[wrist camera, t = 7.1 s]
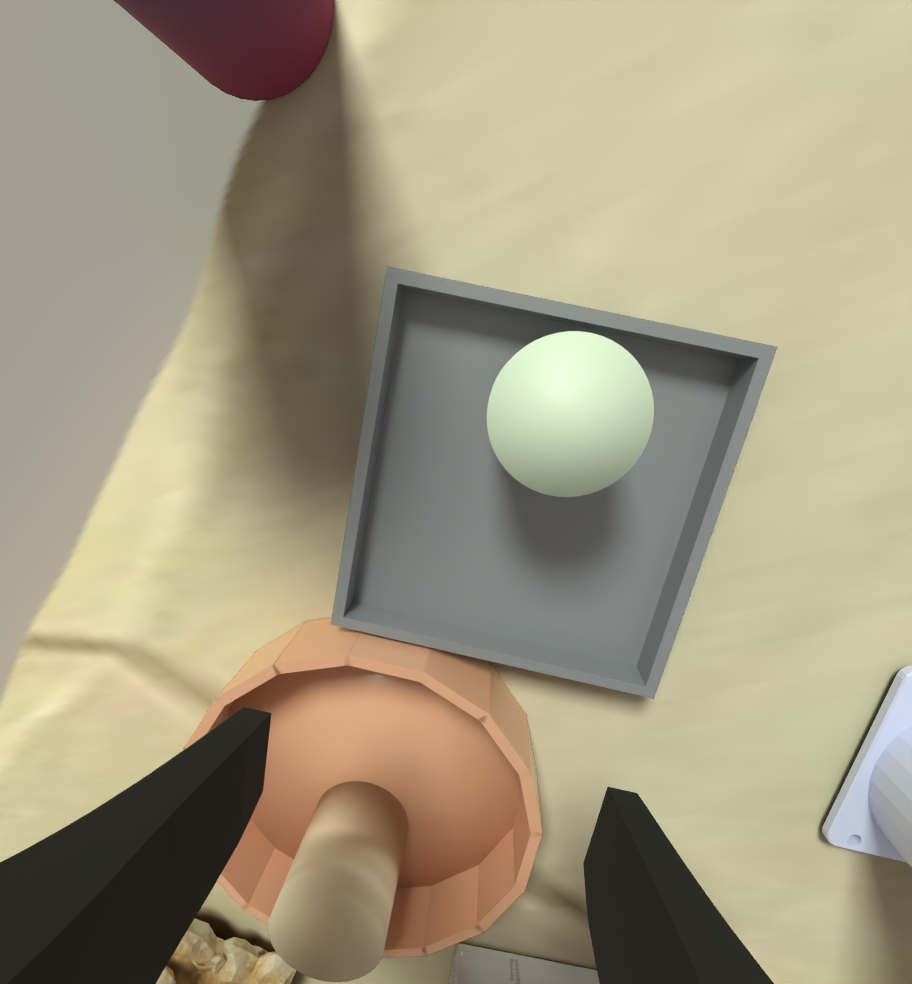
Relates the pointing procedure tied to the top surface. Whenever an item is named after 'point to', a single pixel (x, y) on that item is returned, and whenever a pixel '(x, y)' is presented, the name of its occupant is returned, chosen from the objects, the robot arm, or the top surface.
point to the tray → (533, 491)
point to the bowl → (390, 773)
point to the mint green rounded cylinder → (570, 414)
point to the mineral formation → (222, 961)
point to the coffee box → (513, 969)
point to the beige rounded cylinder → (341, 884)
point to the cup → (242, 40)
